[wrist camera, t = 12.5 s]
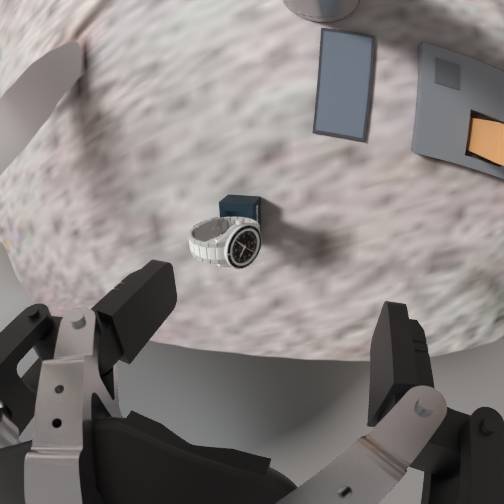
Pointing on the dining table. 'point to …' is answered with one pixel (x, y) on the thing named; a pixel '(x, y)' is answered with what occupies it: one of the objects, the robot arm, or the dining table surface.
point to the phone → (344, 84)
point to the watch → (229, 233)
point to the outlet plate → (454, 105)
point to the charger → (486, 139)
